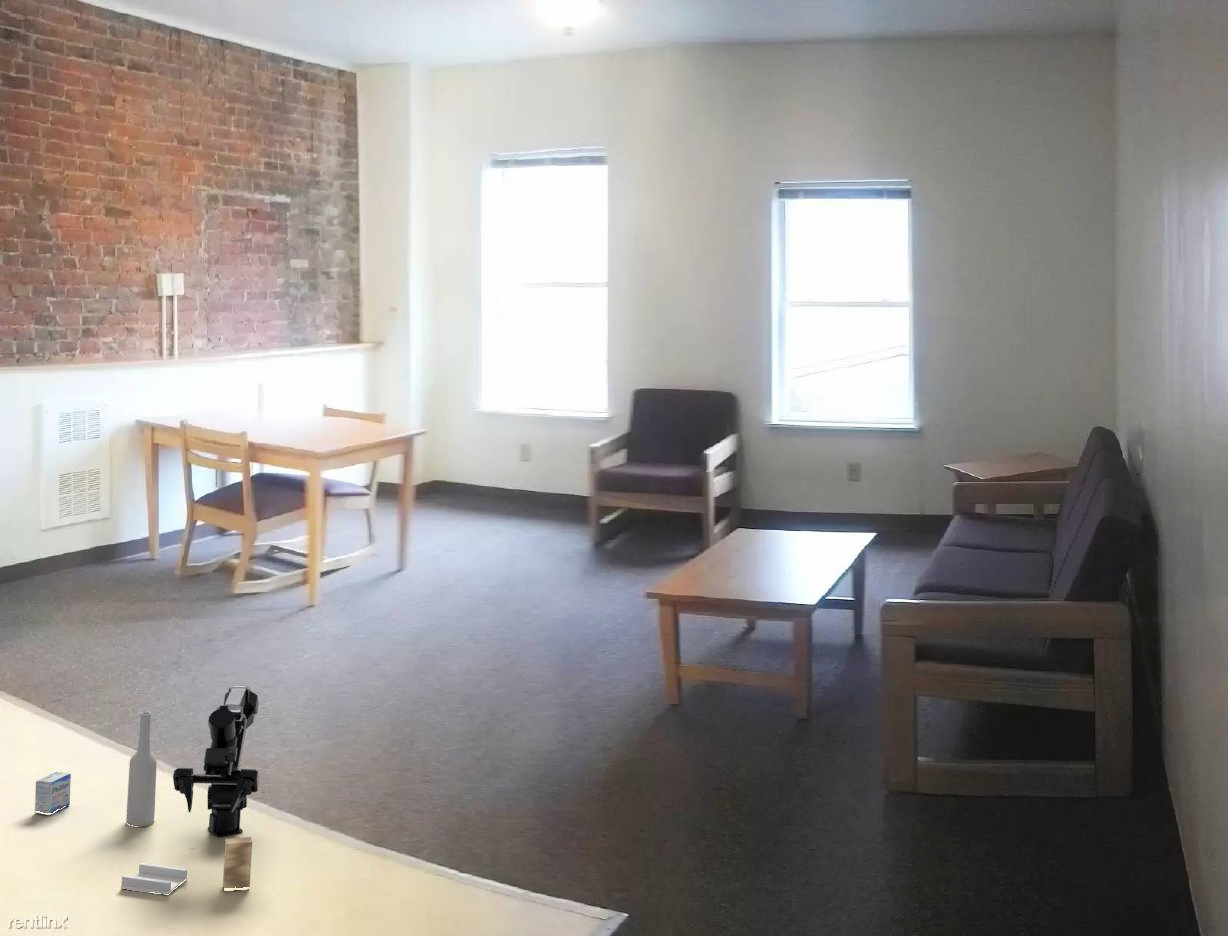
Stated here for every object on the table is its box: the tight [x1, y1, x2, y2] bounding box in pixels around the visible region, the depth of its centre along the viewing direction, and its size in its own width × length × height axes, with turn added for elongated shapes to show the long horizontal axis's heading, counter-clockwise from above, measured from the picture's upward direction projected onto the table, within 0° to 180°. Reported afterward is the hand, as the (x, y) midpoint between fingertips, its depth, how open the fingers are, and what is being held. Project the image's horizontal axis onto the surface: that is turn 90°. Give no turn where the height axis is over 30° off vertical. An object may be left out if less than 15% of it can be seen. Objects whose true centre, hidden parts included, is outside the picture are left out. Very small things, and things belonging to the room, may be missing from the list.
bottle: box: [125, 711, 158, 827], centre depth 297 cm, size 7×7×28 cm
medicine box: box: [34, 771, 72, 813], centre depth 301 cm, size 8×4×9 cm, turn 168°
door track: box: [120, 862, 188, 894], centre depth 263 cm, size 11×8×3 cm
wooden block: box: [222, 836, 253, 888], centre depth 264 cm, size 6×3×11 cm, turn 112°
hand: (210, 811), depth 269 cm, fingers open, 9 cm apart
